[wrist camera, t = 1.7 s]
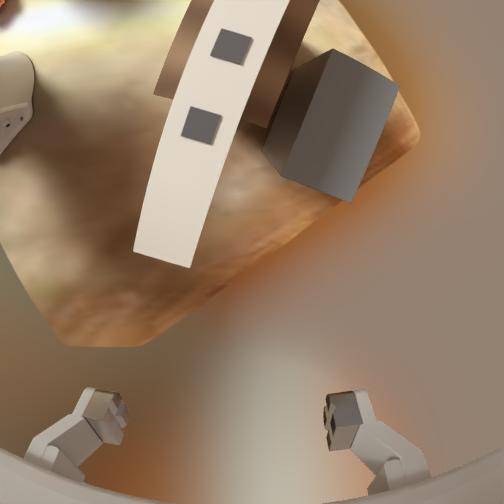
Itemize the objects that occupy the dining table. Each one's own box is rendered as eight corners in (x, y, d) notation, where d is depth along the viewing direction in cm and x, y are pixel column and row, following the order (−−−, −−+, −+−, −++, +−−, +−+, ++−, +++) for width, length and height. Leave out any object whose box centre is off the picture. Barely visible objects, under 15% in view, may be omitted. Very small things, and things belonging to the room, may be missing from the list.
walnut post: (246, 118, 42) (266, 128, 19) (195, 102, 41) (153, 94, 17) (282, 27, 36) (340, -46, 13) (232, 11, 34) (237, -80, 11)
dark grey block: (309, 169, 46) (350, 203, 30) (261, 151, 45) (281, 176, 29) (341, 90, 41) (399, 86, 25) (294, 69, 39) (332, 48, 23)
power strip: (194, 248, 23) (189, 271, 20) (143, 233, 22) (131, 254, 19) (315, -57, 12) (328, -77, 9) (264, -74, 11) (269, -97, 8)
